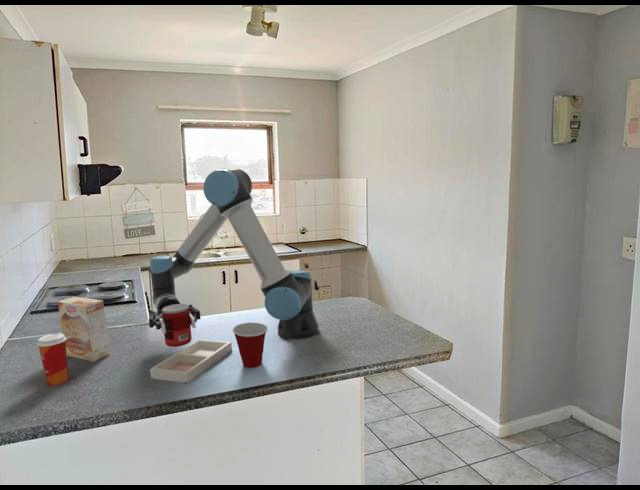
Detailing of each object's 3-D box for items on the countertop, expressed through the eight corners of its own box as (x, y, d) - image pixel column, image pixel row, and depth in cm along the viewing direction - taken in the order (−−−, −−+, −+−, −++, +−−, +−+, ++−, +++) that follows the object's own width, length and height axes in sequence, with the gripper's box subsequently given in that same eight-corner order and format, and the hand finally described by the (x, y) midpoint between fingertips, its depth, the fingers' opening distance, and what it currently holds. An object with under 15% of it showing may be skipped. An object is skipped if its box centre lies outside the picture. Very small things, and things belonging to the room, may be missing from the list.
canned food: (195, 337, 145) (192, 303, 144) (185, 347, 137) (182, 311, 136) (171, 337, 146) (168, 303, 144) (160, 347, 138) (157, 311, 136)
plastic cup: (255, 374, 139) (252, 335, 137) (228, 367, 144) (224, 330, 142) (277, 360, 148) (274, 324, 146) (251, 355, 153) (248, 320, 151)
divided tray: (199, 347, 163) (198, 339, 162) (232, 350, 158) (231, 342, 158) (151, 378, 139) (150, 369, 139) (187, 383, 135) (186, 373, 134)
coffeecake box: (64, 355, 162) (56, 301, 159) (83, 348, 168) (75, 296, 165) (92, 362, 155) (84, 305, 152) (111, 354, 161) (103, 299, 158)
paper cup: (50, 377, 144) (44, 333, 142) (76, 374, 145) (70, 331, 143) (38, 388, 137) (30, 343, 135) (65, 386, 137) (58, 341, 135)
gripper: (200, 312, 162) (215, 331, 141) (137, 323, 153) (143, 345, 133) (198, 291, 160) (213, 308, 140) (134, 301, 152) (140, 320, 131)
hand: (179, 326), depth 136 cm, fingers closed on canned food, 8 cm apart
